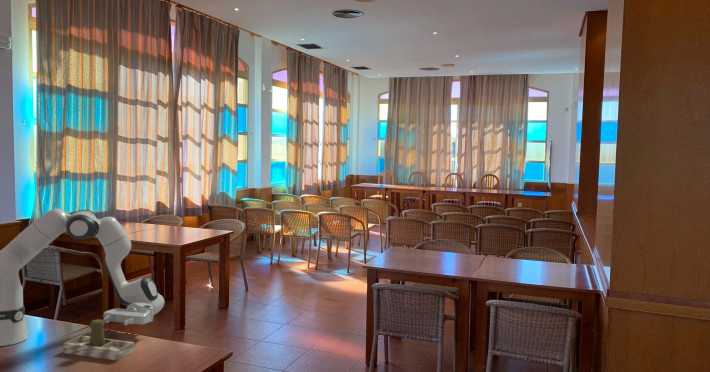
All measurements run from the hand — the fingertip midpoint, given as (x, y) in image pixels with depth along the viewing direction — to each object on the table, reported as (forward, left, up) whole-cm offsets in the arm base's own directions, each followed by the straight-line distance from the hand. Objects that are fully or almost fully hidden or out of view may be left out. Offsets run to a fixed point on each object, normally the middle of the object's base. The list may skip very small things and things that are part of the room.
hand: (114, 322), depth 212 cm
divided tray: (0, -9, -10) cm, 13 cm away
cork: (-1, -9, -8) cm, 12 cm away
